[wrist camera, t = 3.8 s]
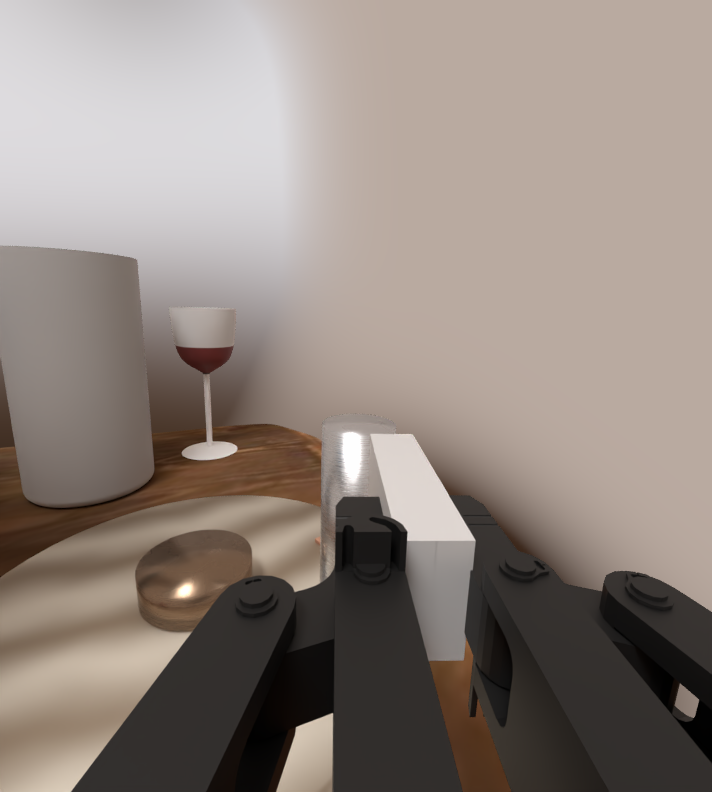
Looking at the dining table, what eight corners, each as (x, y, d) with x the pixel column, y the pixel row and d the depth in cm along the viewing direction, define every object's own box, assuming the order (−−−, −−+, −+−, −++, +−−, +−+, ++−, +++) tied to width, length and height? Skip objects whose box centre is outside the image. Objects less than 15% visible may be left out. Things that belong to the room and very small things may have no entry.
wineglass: (205, 466, 52) (197, 308, 47) (166, 451, 56) (155, 306, 52) (252, 449, 58) (248, 309, 54) (213, 437, 63) (207, 307, 58)
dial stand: (-29, 569, 31) (-34, 543, 30) (301, 491, 46) (301, 472, 45) (-380, 1350, 8) (-425, 1295, 8) (508, 686, 23) (513, 652, 22)
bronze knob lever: (111, 607, 24) (87, 402, 22) (196, 546, 31) (186, 381, 28) (356, 716, 19) (368, 452, 16) (399, 613, 25) (413, 411, 22)
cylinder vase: (177, 470, 50) (163, 262, 45) (90, 519, 38) (56, 245, 33) (97, 457, 53) (74, 261, 48) (-7, 500, 41) (-54, 245, 36)
